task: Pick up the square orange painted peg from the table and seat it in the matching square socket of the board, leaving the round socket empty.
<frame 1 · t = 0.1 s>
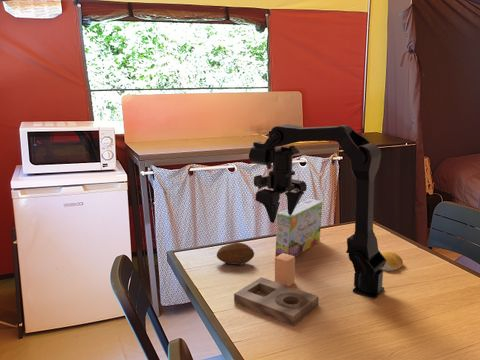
hand: (281, 218, 136), 15 cm above the table, tool pointing down, fingers open, 9 cm apart
potato: (235, 264, 140), on the table
bread roll: (387, 266, 138), on the table
socket board: (275, 303, 116), on the table
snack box: (298, 249, 151), on the table, touching gripper
square peg: (284, 283, 127), on the table
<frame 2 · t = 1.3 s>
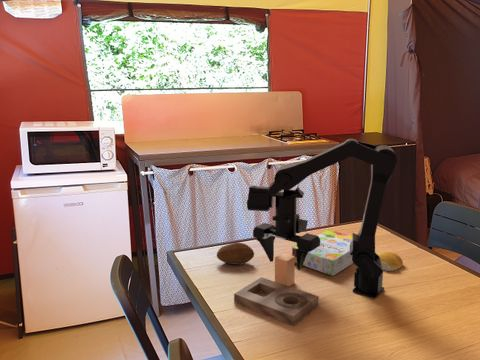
hand: (285, 265, 126), 5 cm above the table, tool pointing down, fingers open, 9 cm apart
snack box: (310, 245, 147), point 3 cm above the table
everything else where it was.
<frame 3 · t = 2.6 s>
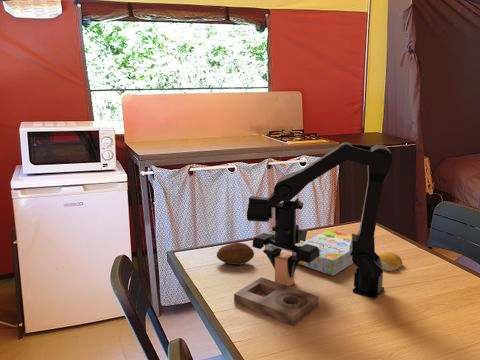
hand: (284, 275, 126), 2 cm above the table, tool pointing down, fingers closed on square peg, 4 cm apart
square peg: (284, 283, 127), on the table, touching gripper
everything else where it was.
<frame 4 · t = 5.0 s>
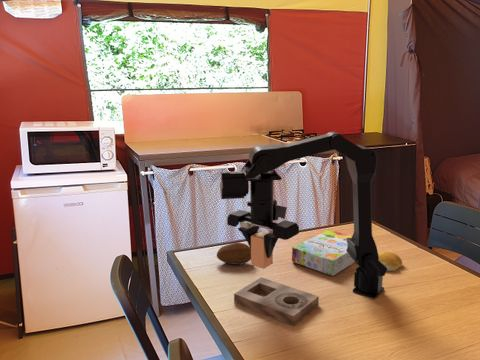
hand: (261, 255, 116), 12 cm above the table, tool pointing down, fingers closed on square peg, 4 cm apart
square peg: (261, 264, 116), point 10 cm above the table, touching gripper
everything else where it was.
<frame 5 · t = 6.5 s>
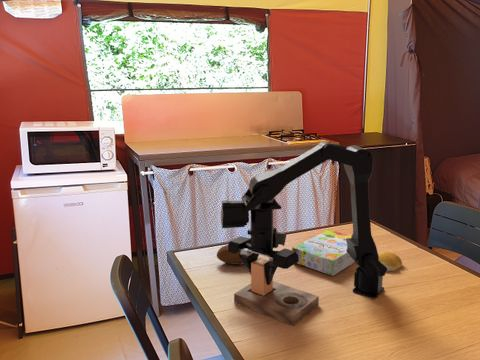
hand: (262, 282, 117), 5 cm above the table, tool pointing down, fingers closed on square peg, 4 cm apart
square peg: (261, 290, 118), point 2 cm above the table, touching gripper
everything else where it was.
when the fingers open (3 cm above the table, at t = 7.6 s): square peg drops 1 cm, resting in socket board.
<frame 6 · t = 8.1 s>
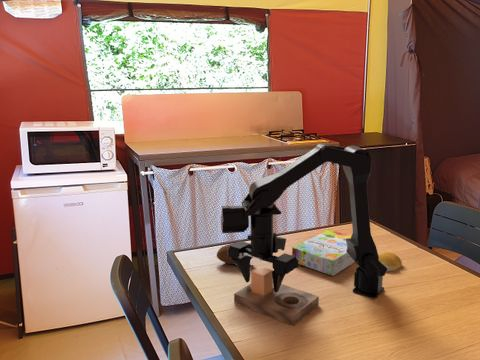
hand: (261, 286, 118), 3 cm above the table, tool pointing down, fingers open, 9 cm apart
square peg: (262, 298, 119), resting in socket board
everything else where it was.
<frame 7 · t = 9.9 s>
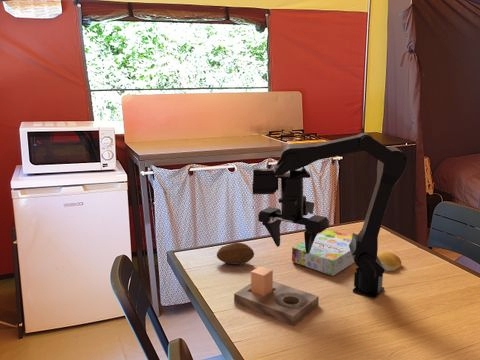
hand: (292, 249, 121), 11 cm above the table, tool pointing down, fingers open, 9 cm apart
nothing on the table moved.
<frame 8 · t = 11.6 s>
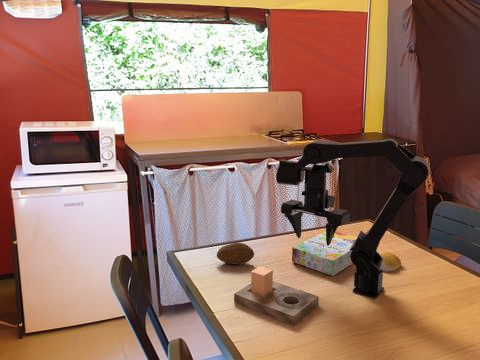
hand: (313, 241, 125), 12 cm above the table, tool pointing down, fingers open, 9 cm apart
nothing on the table moved.
at the end: square peg 0.1 cm from the target spot on the socket board, point 0.0 cm above the socket board's base; square peg tilted 0°; the gripper is holding nothing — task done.
